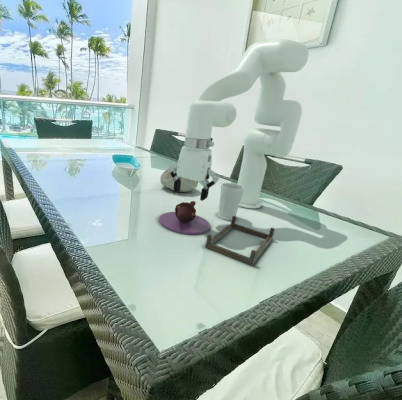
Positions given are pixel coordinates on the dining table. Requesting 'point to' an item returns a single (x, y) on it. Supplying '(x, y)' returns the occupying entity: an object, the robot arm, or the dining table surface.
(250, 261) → the frame
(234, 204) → the cup
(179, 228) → the lid
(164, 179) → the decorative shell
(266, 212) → the dining table surface
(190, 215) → the dark red rounded piece
